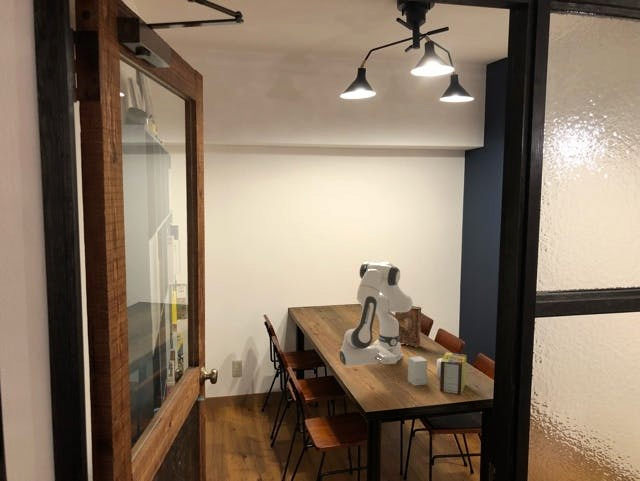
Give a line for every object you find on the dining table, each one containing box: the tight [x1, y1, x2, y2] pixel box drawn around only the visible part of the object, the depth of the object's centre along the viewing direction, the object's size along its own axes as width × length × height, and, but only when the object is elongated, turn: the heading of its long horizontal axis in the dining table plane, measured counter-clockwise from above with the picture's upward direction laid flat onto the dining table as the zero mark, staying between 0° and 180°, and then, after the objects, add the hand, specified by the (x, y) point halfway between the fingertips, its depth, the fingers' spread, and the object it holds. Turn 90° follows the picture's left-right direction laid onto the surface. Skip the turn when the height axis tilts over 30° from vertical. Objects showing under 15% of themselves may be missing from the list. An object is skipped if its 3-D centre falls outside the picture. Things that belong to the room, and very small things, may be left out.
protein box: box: [439, 352, 467, 396], centre depth 243 cm, size 10×15×16 cm
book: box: [394, 305, 422, 347], centre depth 314 cm, size 16×6×25 cm, turn 55°
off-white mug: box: [436, 357, 443, 380], centre depth 259 cm, size 10×8×9 cm
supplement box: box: [407, 355, 428, 387], centre depth 249 cm, size 7×7×13 cm
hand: (396, 353), depth 244 cm, fingers open, 8 cm apart
